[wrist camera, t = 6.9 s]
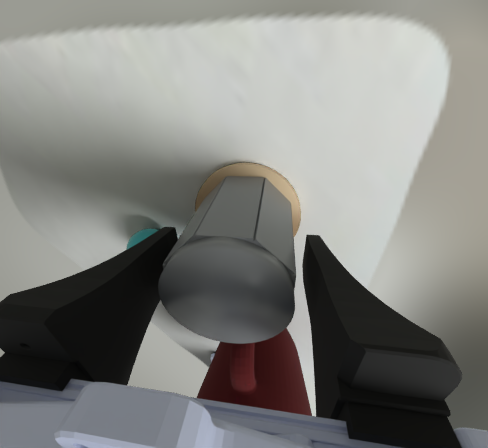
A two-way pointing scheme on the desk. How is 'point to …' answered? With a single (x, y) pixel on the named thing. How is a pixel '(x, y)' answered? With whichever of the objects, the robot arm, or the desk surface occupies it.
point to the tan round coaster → (254, 171)
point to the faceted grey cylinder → (234, 264)
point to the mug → (258, 375)
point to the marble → (140, 236)
